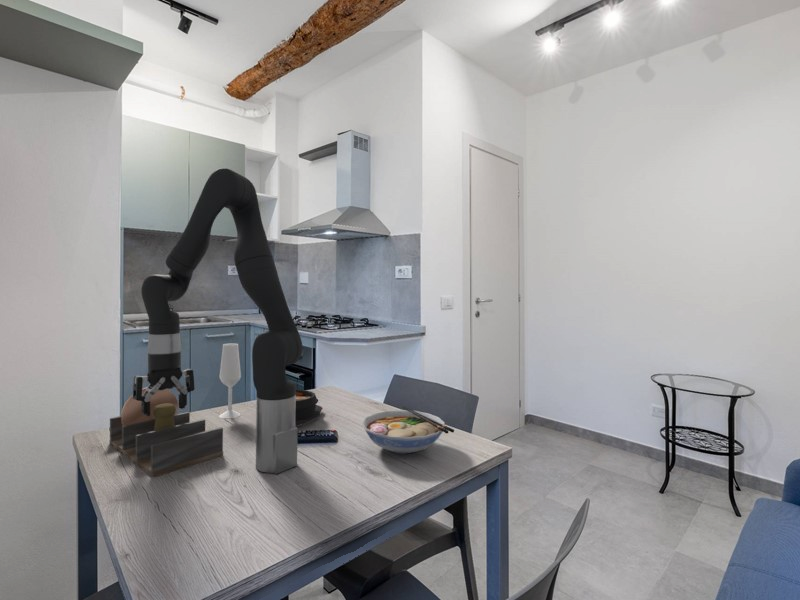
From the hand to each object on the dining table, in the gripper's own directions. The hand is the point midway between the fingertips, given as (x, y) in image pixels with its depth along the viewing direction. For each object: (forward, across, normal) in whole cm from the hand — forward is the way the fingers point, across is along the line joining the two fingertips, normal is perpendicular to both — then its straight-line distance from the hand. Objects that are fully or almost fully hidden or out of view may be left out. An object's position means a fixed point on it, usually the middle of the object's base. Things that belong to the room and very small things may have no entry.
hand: (165, 411), depth 108 cm
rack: (+10, 0, 0) cm, 10 cm away
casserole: (+11, +37, -5) cm, 39 cm away
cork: (+9, 0, 0) cm, 9 cm away
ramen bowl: (+11, +42, -47) cm, 64 cm away
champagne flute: (+10, +26, +14) cm, 31 cm away
